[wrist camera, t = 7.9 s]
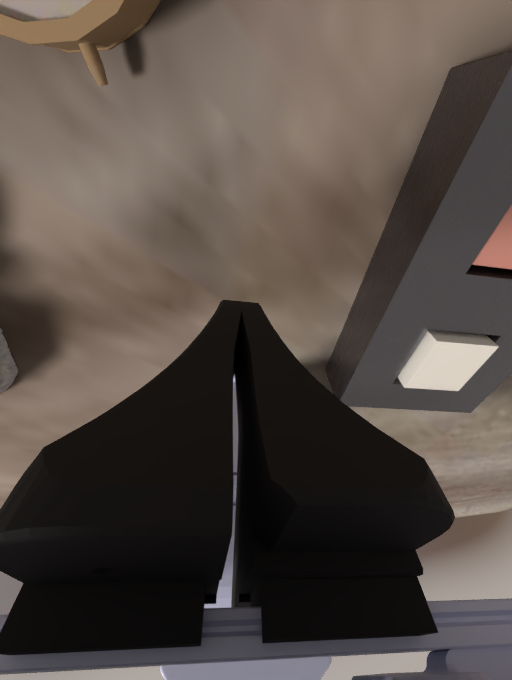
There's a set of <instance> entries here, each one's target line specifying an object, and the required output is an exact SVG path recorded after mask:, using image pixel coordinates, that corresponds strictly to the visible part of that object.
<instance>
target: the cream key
mask: <svg viewBox="0 0 512 680" xmlns="http://www.w3.org/2000/svg"><path fill="white" fill-rule="evenodd" d="M498 347H499V346H498V345H497V344H496V343H494V342H493V341H492V340H491V339H490V338H489V337H487V336H486V335H485V334H475V333H464V332H453V331H442V330H431V329H429V330H428V331H427V333H426V334H425V336H424V337H423V339H422V340H421V342H420V343H419V345H418V346H417V348H416V349H415V351H414V352H413V354H412V355H411V357H410V358H409V360H408V361H407V363H406V364H405V366H404V367H403V369H402V370H401V372H400V373H399V375H398V376H397V377H398V379H399V380H400V382H401V384H402V385H403V387H404V388H417V389H432V390H448V391H459V390H460V389H461V388H462V387H463V386H464V385H465V383H466V382H467V381H468V380H469V379H470V378H471V377H472V376H473V375H474V374H475V373H476V371H477V370H478V369H479V368H480V367H481V366H482V365H483V364H484V363H485V362H486V360H487V359H488V358H489V357H490V356H491V355H492V354H493V353H494V352H495V351H496V350H497V348H498Z"/></svg>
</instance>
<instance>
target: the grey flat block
mask: <svg viewBox="0 0 512 680" xmlns="http://www.w3.org/2000/svg"><path fill="white" fill-rule="evenodd" d="M511 205H512V51H511V52H507V53H504V54H500V55H496V56H493V57H489V58H486V59H482V60H478V61H475V62H471V63H468V64H464V65H461V66H457V67H453V68H451V69H450V72H449V74H448V76H447V79H446V81H445V84H444V86H443V88H442V91H441V93H440V96H439V98H438V100H437V103H436V105H435V108H434V110H433V113H432V115H431V117H430V120H429V122H428V125H427V127H426V129H425V132H424V134H423V137H422V139H421V141H420V144H419V146H418V149H417V151H416V154H415V156H414V158H413V161H412V163H411V166H410V168H409V170H408V173H407V175H406V178H405V180H404V183H403V185H402V187H401V190H400V192H399V195H398V197H397V199H396V202H395V204H394V207H393V209H392V211H391V214H390V216H389V219H388V221H387V224H386V226H385V228H384V231H383V233H382V236H381V238H380V240H379V243H378V245H377V248H376V250H375V252H374V255H373V257H372V260H371V262H370V265H369V267H368V269H367V272H366V274H365V277H364V279H363V281H362V284H361V286H360V289H359V291H358V293H357V296H356V298H355V301H354V303H353V306H352V308H351V310H350V313H349V315H348V318H347V320H346V322H345V325H344V327H343V330H342V332H341V335H340V337H339V339H338V342H337V344H336V347H335V349H334V351H333V354H332V356H331V359H330V361H329V363H328V366H327V368H326V373H327V376H328V379H329V382H330V385H331V388H332V391H333V394H334V396H336V397H337V398H338V399H339V400H340V401H341V402H343V403H344V404H345V405H346V406H355V407H374V408H392V409H410V410H429V411H447V412H465V413H471V412H472V411H473V410H474V409H475V408H476V407H477V406H478V405H479V404H480V403H481V402H482V401H483V400H484V399H485V398H486V397H487V396H488V395H489V394H490V393H491V392H492V391H494V390H495V389H496V388H497V387H498V386H499V385H500V384H501V383H502V382H503V381H504V380H505V379H506V378H507V377H508V376H509V375H510V374H511V373H512V269H504V268H496V267H488V266H480V265H472V263H473V262H474V260H475V259H476V257H477V256H478V254H479V253H480V251H481V250H482V248H483V247H484V245H485V244H486V242H487V241H488V239H489V238H490V236H491V235H492V233H493V232H494V230H495V229H496V227H497V226H498V224H499V223H500V221H501V220H502V218H503V217H504V215H505V214H506V212H507V211H508V209H509V208H510V206H511ZM429 329H431V330H442V331H453V332H464V333H475V334H485V335H486V336H487V337H489V338H490V339H491V340H492V341H493V342H494V343H496V344H497V345H498V346H499V347H498V348H497V350H496V351H495V352H494V353H493V354H492V355H491V356H490V357H489V358H488V359H487V360H486V362H485V363H484V364H483V365H482V366H481V367H480V368H479V369H478V370H477V371H476V373H475V374H474V375H473V376H472V377H471V378H470V379H469V380H468V381H467V382H466V383H465V385H464V386H463V387H462V388H461V389H460V390H459V391H448V390H432V389H417V388H404V387H403V385H402V384H401V382H400V380H399V379H398V377H397V376H398V375H399V373H400V372H401V370H402V369H403V367H404V366H405V364H406V363H407V361H408V360H409V358H410V357H411V355H412V354H413V352H414V351H415V349H416V348H417V346H418V345H419V343H420V342H421V340H422V339H423V337H424V336H425V334H426V333H427V331H428V330H429Z"/></svg>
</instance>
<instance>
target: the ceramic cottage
mask: <svg viewBox="0 0 512 680" xmlns="http://www.w3.org/2000/svg"><path fill="white" fill-rule="evenodd" d="M7 346H8V344H7V342H6V340H5V337H4V335H3V334H2V329H1V328H0V394H2V393H3V392H4V391H6V390H7V389H8V388H9V387H10V385H11V384H12V383H13V382H14V380H15V377H16V376H17V374H18V369H17V366H16V365H15V364H16V363H15V362H14V359H13V357H12V355H11V352H10V349H9V348H8V347H7Z"/></svg>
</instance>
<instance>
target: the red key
mask: <svg viewBox="0 0 512 680" xmlns="http://www.w3.org/2000/svg"><path fill="white" fill-rule="evenodd" d="M472 265H480V266H488V267H496V268H504V269H512V205H511V206H510V208H509V209H508V211H507V212H506V214H505V215H504V217H503V218H502V220H501V221H500V223H499V224H498V226H497V227H496V229H495V230H494V232H493V233H492V235H491V236H490V238H489V239H488V241H487V242H486V244H485V245H484V247H483V248H482V250H481V251H480V253H479V254H478V256H477V257H476V259H475V260H474V262H473V263H472Z"/></svg>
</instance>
